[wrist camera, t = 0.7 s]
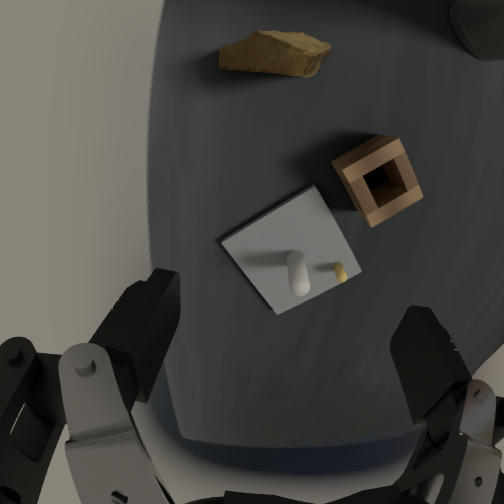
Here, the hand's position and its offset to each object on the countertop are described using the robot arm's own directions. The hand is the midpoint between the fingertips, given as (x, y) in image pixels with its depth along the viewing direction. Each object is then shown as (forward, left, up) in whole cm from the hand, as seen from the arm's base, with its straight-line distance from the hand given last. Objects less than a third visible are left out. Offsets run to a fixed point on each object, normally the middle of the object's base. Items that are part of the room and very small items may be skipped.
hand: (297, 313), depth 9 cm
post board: (+3, +9, -22) cm, 24 cm away
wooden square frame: (-9, +5, -22) cm, 24 cm away
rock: (-7, -11, -22) cm, 26 cm away
